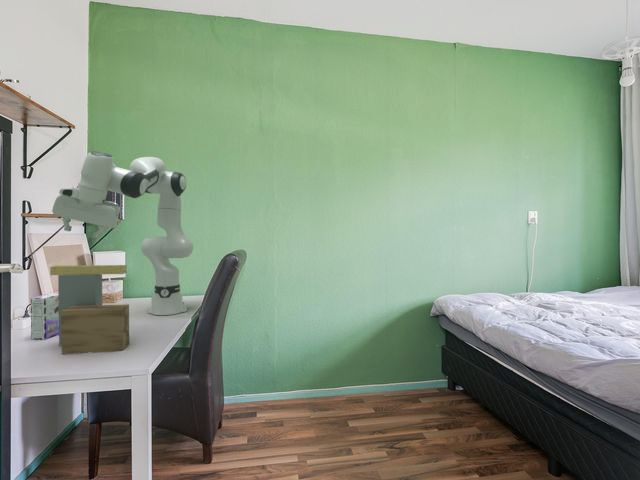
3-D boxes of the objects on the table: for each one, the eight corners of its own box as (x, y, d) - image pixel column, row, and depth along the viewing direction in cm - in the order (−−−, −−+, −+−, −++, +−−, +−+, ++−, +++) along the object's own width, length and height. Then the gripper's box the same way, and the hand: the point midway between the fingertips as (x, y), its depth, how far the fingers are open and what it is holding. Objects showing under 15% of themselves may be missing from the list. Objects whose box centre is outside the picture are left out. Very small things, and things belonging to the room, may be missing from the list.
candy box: (59, 329, 143) (58, 290, 143) (72, 329, 143) (72, 290, 143) (30, 339, 130) (29, 297, 129) (45, 340, 129) (44, 297, 129)
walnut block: (71, 347, 122) (71, 306, 122) (129, 344, 126) (129, 304, 126) (61, 354, 115) (60, 310, 115) (122, 350, 119) (122, 308, 119)
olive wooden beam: (56, 273, 126) (56, 265, 126) (126, 272, 131) (126, 265, 131) (50, 275, 122) (50, 266, 122) (122, 274, 127) (122, 266, 127)
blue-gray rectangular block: (67, 340, 129) (66, 273, 128) (102, 338, 131) (102, 272, 130) (59, 346, 123) (58, 275, 122) (95, 344, 125) (95, 274, 125)
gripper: (125, 204, 124) (116, 240, 125) (65, 189, 121) (56, 226, 121) (118, 204, 118) (108, 242, 118) (54, 188, 115) (45, 227, 115)
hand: (81, 234), depth 120 cm, fingers open, 8 cm apart
